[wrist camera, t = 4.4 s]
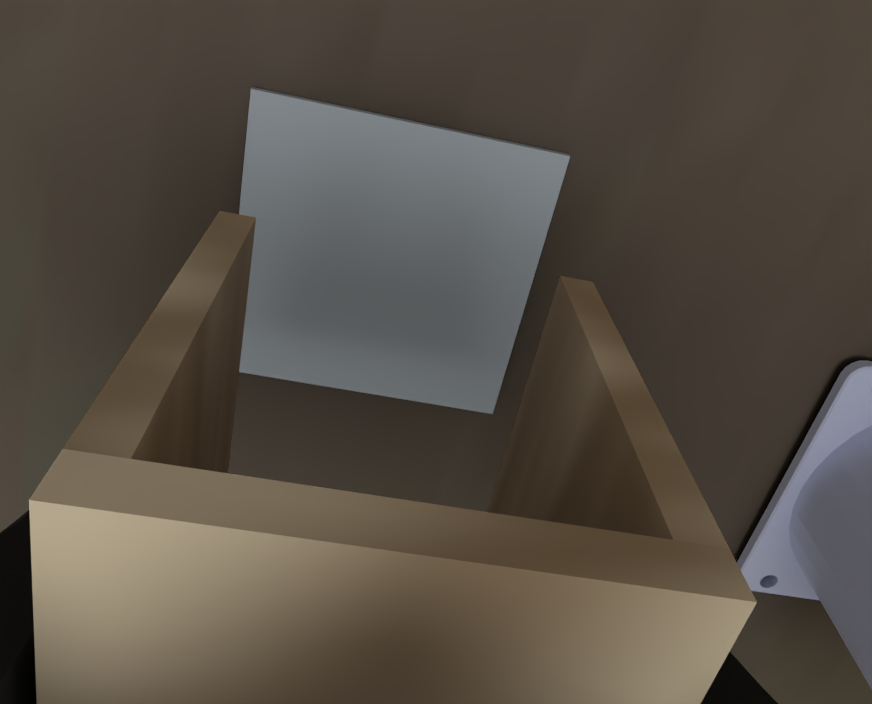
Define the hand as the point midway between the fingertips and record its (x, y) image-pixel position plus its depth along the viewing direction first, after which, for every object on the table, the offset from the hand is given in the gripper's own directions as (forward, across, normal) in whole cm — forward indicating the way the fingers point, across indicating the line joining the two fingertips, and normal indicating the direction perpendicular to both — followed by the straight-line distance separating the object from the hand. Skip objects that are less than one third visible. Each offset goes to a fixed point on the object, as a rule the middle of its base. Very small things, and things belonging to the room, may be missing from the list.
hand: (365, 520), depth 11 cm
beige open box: (+2, 0, 0) cm, 2 cm away
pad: (+9, 0, 0) cm, 9 cm away
